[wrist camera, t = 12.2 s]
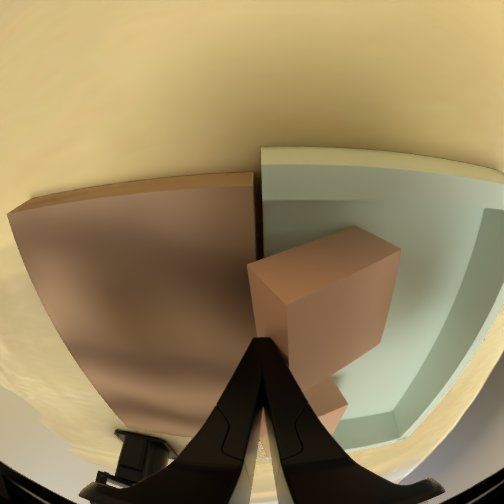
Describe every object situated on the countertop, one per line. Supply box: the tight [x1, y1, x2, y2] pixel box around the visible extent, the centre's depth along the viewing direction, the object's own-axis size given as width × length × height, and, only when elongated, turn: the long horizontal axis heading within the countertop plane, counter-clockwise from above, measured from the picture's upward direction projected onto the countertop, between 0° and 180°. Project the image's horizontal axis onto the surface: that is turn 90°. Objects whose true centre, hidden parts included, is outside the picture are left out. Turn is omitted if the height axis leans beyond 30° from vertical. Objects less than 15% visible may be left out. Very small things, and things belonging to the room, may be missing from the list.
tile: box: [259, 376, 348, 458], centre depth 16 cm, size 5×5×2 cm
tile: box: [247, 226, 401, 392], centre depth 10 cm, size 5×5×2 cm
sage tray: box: [261, 146, 504, 460], centre depth 14 cm, size 22×12×4 cm, turn 2°
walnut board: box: [7, 172, 261, 441], centre depth 15 cm, size 20×12×2 cm, turn 2°
